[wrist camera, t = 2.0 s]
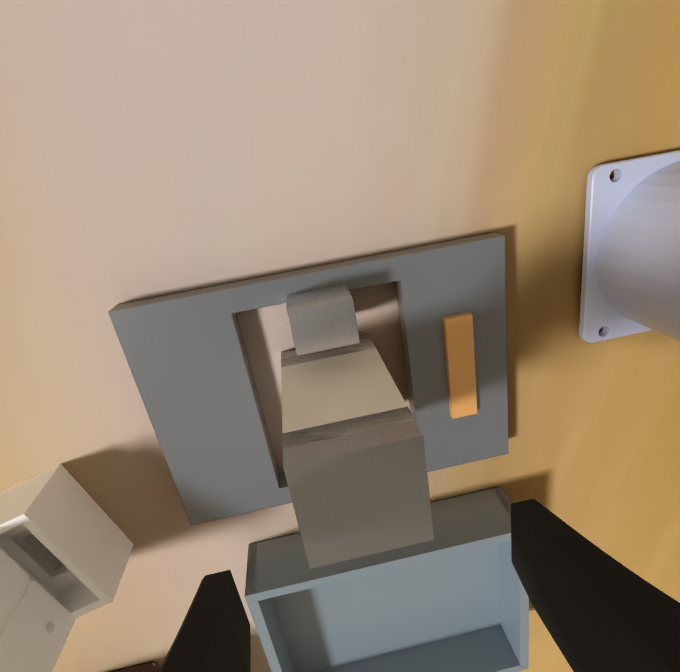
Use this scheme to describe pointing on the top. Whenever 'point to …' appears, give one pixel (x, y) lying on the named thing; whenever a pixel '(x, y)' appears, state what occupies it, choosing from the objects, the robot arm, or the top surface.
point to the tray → (398, 599)
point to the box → (141, 668)
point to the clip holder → (311, 336)
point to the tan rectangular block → (351, 455)
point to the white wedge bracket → (52, 566)
